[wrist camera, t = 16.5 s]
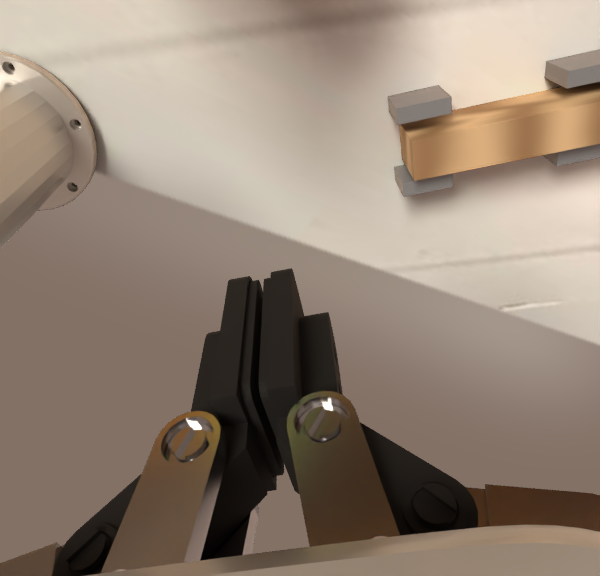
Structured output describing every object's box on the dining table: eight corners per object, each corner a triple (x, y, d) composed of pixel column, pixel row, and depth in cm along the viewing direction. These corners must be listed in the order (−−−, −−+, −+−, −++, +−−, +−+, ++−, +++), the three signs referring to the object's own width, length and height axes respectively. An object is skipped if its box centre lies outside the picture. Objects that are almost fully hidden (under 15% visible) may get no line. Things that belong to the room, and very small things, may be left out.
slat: (401, 157, 40) (414, 180, 36) (398, 120, 38) (411, 141, 34) (593, 118, 39) (629, 137, 35) (599, 77, 37) (638, 93, 33)
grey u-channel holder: (537, 151, 40) (556, 166, 37) (546, 61, 36) (568, 71, 33) (606, 136, 39) (631, 151, 36) (623, 44, 35) (653, 52, 32)
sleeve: (395, 179, 41) (403, 196, 38) (387, 96, 37) (396, 108, 34) (440, 170, 41) (452, 187, 38) (438, 85, 36) (451, 96, 34)
